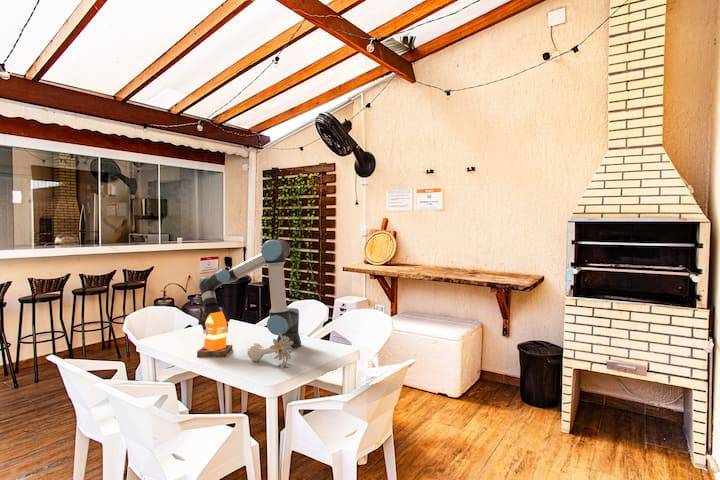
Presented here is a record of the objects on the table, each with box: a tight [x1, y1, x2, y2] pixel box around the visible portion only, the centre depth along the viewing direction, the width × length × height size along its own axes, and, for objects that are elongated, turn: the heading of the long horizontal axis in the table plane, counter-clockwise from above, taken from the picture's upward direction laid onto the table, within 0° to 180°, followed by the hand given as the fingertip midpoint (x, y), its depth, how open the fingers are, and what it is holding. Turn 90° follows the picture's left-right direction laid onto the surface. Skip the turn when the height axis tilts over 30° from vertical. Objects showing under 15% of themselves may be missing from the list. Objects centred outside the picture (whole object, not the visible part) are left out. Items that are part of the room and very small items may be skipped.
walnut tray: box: [196, 344, 233, 358], centre depth 233 cm, size 15×14×3 cm
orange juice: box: [203, 311, 227, 351], centre depth 233 cm, size 8×9×20 cm
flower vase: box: [247, 333, 295, 369], centre depth 218 cm, size 13×18×25 cm
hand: (217, 333), depth 230 cm, fingers closed on orange juice, 10 cm apart
